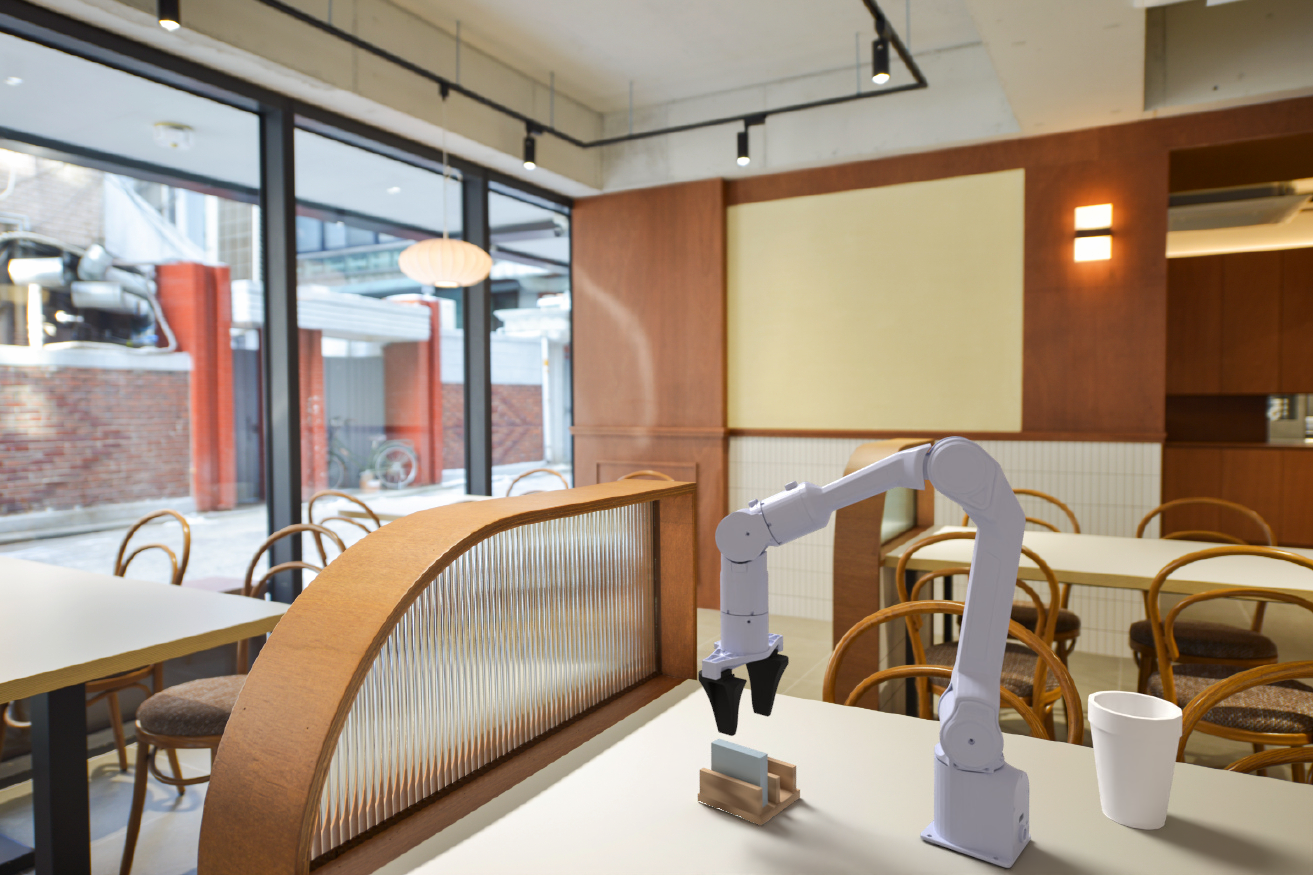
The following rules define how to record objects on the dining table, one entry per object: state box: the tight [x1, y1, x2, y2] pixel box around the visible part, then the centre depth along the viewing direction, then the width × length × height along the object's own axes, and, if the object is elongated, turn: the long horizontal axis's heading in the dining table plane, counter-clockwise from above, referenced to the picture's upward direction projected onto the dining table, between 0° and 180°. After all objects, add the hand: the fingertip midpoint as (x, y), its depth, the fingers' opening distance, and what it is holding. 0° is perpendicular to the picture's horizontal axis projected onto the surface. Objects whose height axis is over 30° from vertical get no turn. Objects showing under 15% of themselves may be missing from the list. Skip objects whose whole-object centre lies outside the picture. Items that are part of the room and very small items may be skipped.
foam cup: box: [1087, 690, 1183, 831], centre depth 93 cm, size 10×9×13 cm
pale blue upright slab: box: [710, 738, 769, 808], centre depth 96 cm, size 7×2×6 cm, turn 50°
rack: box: [697, 756, 801, 826], centre depth 97 cm, size 9×9×4 cm
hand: (745, 723), depth 96 cm, fingers open, 7 cm apart
